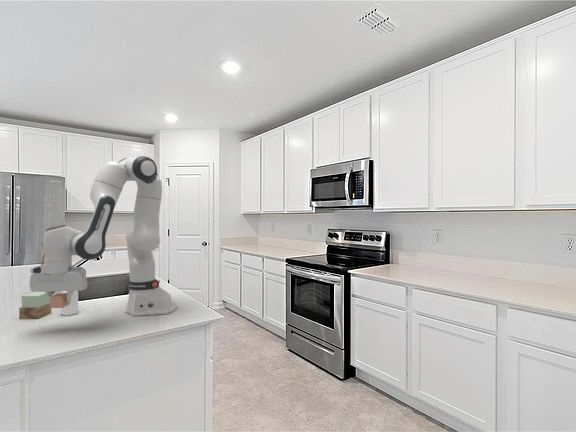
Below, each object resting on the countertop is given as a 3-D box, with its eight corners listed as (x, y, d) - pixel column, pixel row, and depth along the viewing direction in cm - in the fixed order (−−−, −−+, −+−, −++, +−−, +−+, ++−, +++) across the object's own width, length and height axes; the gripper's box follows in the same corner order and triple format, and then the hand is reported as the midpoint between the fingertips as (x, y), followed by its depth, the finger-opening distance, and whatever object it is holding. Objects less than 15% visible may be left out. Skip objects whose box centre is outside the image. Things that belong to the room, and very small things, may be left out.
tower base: (51, 313, 149) (51, 302, 149) (38, 319, 141) (38, 308, 141) (33, 313, 149) (33, 302, 148) (19, 319, 141) (19, 307, 140)
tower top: (49, 302, 148) (49, 291, 148) (38, 307, 141) (37, 296, 141) (34, 302, 148) (34, 291, 148) (21, 307, 141) (21, 295, 141)
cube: (69, 304, 131) (69, 293, 131) (62, 307, 126) (61, 296, 126) (58, 304, 131) (57, 293, 131) (50, 308, 126) (49, 296, 126)
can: (65, 317, 144) (65, 289, 143) (58, 314, 147) (58, 287, 147) (81, 313, 149) (80, 286, 149) (73, 310, 153) (73, 285, 152)
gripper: (90, 265, 131) (91, 298, 132) (38, 265, 131) (39, 300, 131) (80, 268, 125) (82, 303, 126) (25, 269, 124) (27, 305, 125)
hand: (60, 301), depth 129 cm, fingers closed on cube, 4 cm apart
